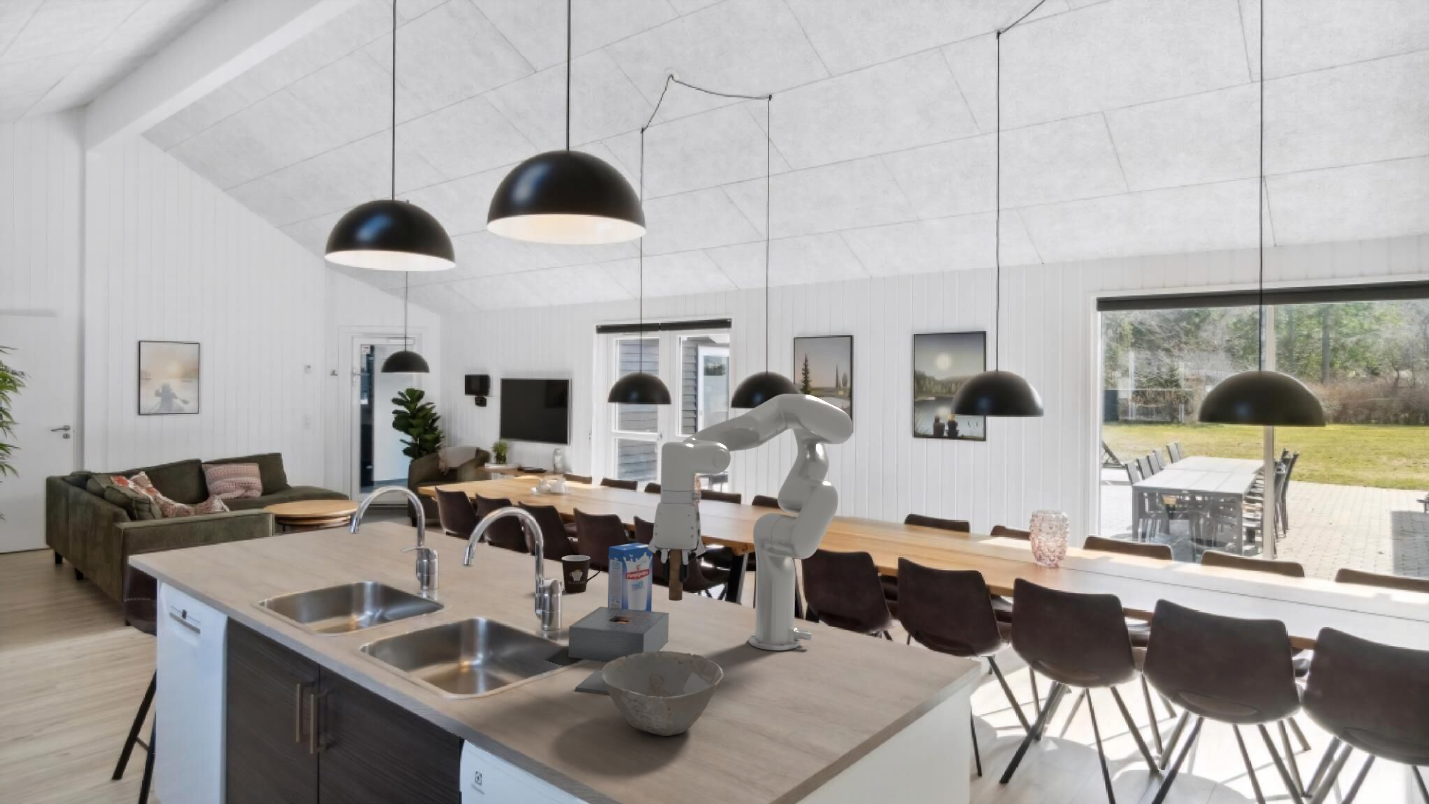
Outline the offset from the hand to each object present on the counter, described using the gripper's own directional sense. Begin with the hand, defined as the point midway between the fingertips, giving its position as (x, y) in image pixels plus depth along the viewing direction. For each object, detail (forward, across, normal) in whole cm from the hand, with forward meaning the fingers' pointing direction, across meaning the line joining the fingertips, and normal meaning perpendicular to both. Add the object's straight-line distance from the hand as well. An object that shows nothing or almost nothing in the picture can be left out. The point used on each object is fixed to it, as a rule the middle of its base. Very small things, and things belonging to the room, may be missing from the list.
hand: (675, 579), depth 173 cm
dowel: (+4, 0, 0) cm, 4 cm away
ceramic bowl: (+19, -7, +31) cm, 37 cm away
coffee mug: (+19, +46, -56) cm, 76 cm away
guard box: (+19, +16, -8) cm, 26 cm away
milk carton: (+19, +21, -30) cm, 41 cm away
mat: (+19, +10, +14) cm, 26 cm away
